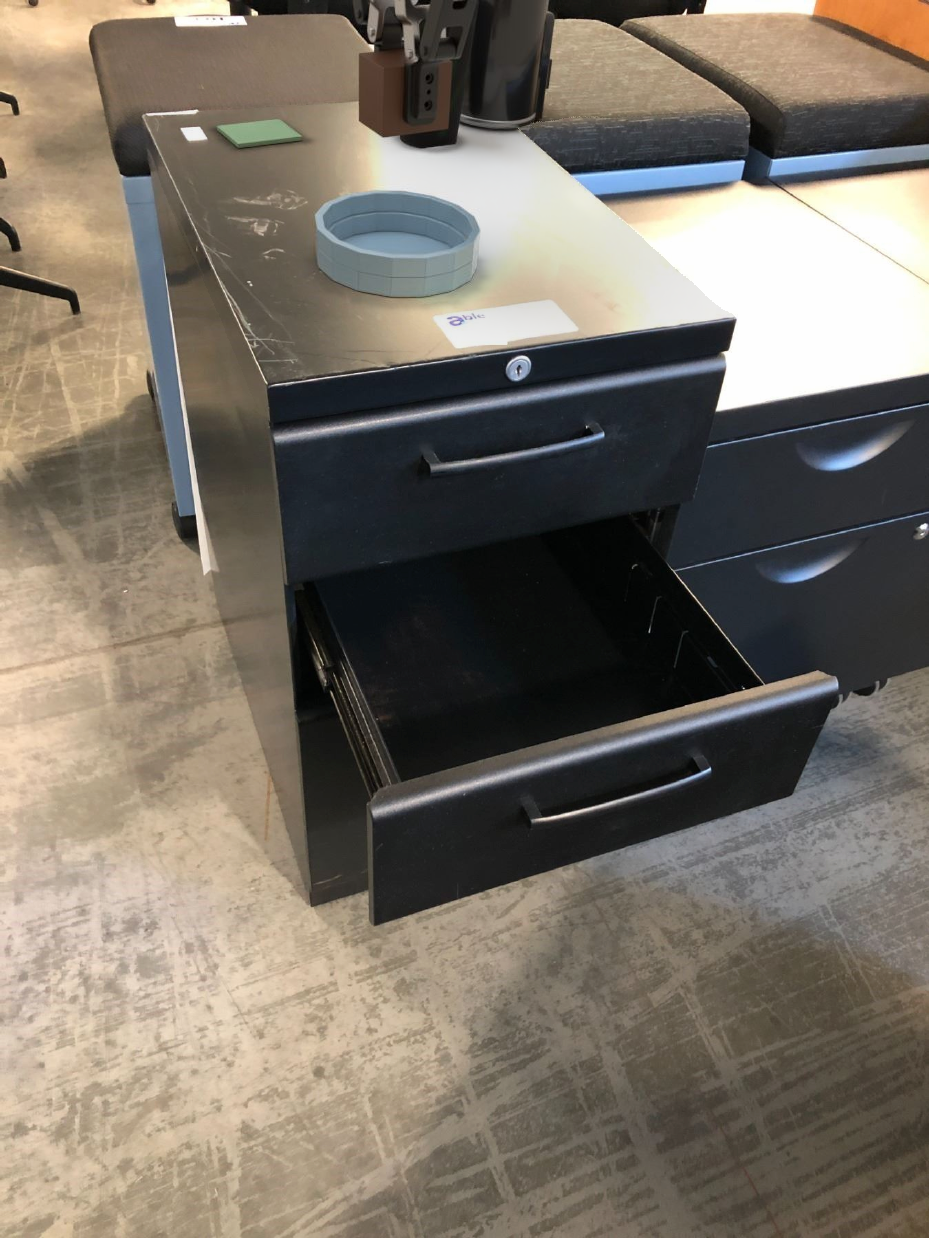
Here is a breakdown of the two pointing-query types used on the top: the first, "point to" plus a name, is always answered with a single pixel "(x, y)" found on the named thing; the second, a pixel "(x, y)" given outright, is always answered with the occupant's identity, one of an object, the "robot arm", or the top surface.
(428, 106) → the robot arm
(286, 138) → the green rectangular slab
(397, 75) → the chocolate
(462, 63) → the cup
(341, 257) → the pan
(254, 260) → the top surface
